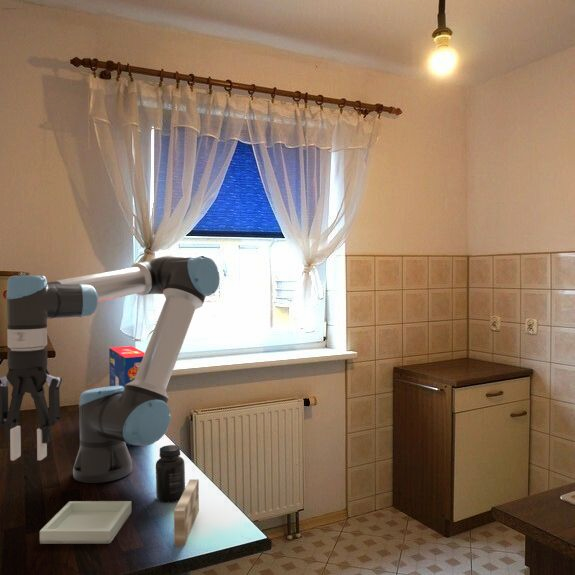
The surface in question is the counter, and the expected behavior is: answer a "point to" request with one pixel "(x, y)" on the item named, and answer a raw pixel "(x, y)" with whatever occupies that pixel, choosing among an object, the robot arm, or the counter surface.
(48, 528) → the sliding tray
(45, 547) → the counter surface
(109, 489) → the counter surface
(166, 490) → the supplement bottle
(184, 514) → the backstop wall
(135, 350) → the pasta box
